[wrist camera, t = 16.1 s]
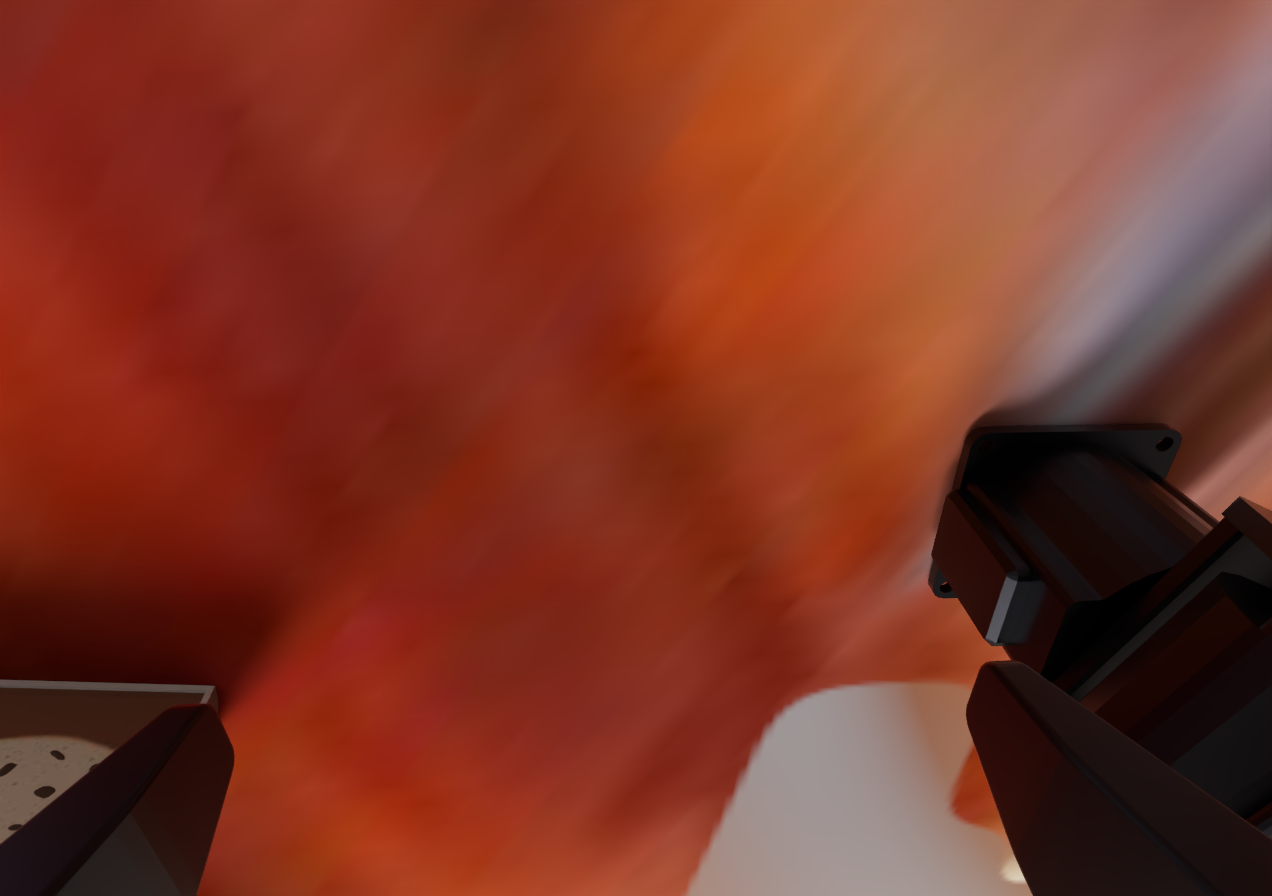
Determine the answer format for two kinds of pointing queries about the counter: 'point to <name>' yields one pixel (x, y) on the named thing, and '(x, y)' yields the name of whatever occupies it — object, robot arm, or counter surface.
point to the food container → (70, 734)
